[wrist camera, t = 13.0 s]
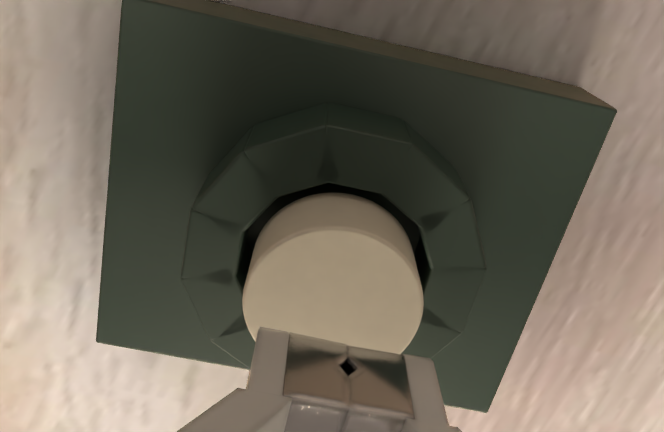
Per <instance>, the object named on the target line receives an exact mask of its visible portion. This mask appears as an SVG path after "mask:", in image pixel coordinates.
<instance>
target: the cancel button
mask: <svg viewBox="0 0 664 432" xmlns="http://www.w3.org/2000/svg"><path fill="white" fill-rule="evenodd" d="M242 305H243V314H244V319H245V322H246V324H247V327H248V330H249V332H250V333H251V335H252V337H253V339H254V340H255V342H256V338H257V333H258V330H259V327H266V328H271V329H276V330H282V331H287V332H288V333H290V332H292V333H296V334H301V335H306V336H311V337H315V338H320V339H325V340H330V341H334V342H339V343H344V344H346V345H351V346H356V347H362V348H368V349H373V350H379V351H385V352H390V353H396V354H401V353H402V352H403V351H404V350H405V348H406V347H407V346H408V345H409V344H410V342H411V341H412V339H413V337H414V336H415V334H416V332H417V330H418V327H419V325H420V322H421V318H422V314H423V306H424V300H423V290H422V286H421V281H420V277H419V273H418V269H417V265H416V261H415V257H414V253H413V249H412V245H411V243H410V240H409V237H408V235H407V234H406V232H405V230H404V228H403V227H402V226H401V224H400V223H399V222H398V220H397V219H396V218H395V217H394V216H393V215H392V214H391V213H389V212H388V211H387V210H386V209H384V208H383V207H381V206H380V205H378V204H376V203H374V202H373V201H370V200H368V199H365V198H363V197H360V196H356V195H352V194H346V193H319V194H314V195H310V196H306V197H303V198H301V199H298V200H296V201H294V202H292V203H290V204H288V205H286V206H285V207H283V208H282V209H280V210H279V211H278V212H277V213H276V214H275V215H273V216H272V217H271V218H270V220H269V221H268V222H267V223H266V224H265V226H264V227H263V229H262V230H261V232H260V234H259V236H258V238H257V240H256V243H255V247H254V250H253V254H252V258H251V262H250V266H249V270H248V274H247V277H246V281H245V285H244V289H243V298H242Z"/></svg>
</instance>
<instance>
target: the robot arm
mask: <svg viewBox="0 0 664 432" xmlns="http://www.w3.org/2000/svg"><path fill="white" fill-rule="evenodd" d="M177 432H462V431H461V430H460V429H459V428H458V427H453V426H449V423H448V419H447V415H446V411H445V407H444V403H443V399H442V395H441V391H440V386H439V382H438V378H437V374H436V370H435V366H434V362H433V361H432V360H431V359H430V358H426V357H420V356H413V355H407V354H396V353H390V352H385V351H379V350H373V349H368V348H362V347H356V346H351V345H346V344H344V343H339V342H334V341H330V340H325V339H320V338H315V337H311V336H306V335H301V334H296V333H292V332H290V333H288V332H287V331H282V330H276V329H271V328H266V327H259V330H258V333H257V338H256V343H255V348H254V352H253V357H252V362H251V367H250V371H249V376H248V381H247V386H246V389H241V388H237V389H236V390H234V391H233V392H232V393H230V394H229V395H227V396H226V397H224V398H223V399H222V400H220V401H219V402H217V403H216V404H215V405H213V406H212V407H210V408H209V409H208V410H206V411H205V412H203V413H202V414H201V415H199V416H198V417H196V418H195V419H194V420H192V421H191V422H189V423H188V424H187V425H185V426H184V427H182V428H181V429H180V430H178V431H177Z"/></svg>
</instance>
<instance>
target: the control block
mask: <svg viewBox="0 0 664 432" xmlns="http://www.w3.org/2000/svg"><path fill="white" fill-rule="evenodd" d="M616 113H617V110H616V109H615V108H614V107H612V106H610V105H609V104H607V103H605V102H604V101H602V100H601V99H599V98H597V97H596V96H594V95H592V94H591V93H589V92H587V91H586V90H584V89H583V88H581V87H577V86H573V85H568V84H564V83H560V82H555V81H551V80H547V79H543V78H538V77H534V76H530V75H526V74H521V73H517V72H513V71H509V70H504V69H500V68H496V67H491V66H487V65H483V64H479V63H474V62H470V61H466V60H462V59H457V58H453V57H449V56H445V55H440V54H436V53H432V52H427V51H423V50H419V49H415V48H410V47H406V46H402V45H398V44H393V43H389V42H385V41H381V40H376V39H372V38H368V37H363V36H359V35H355V34H351V33H346V32H342V31H338V30H334V29H329V28H325V27H321V26H316V25H312V24H308V23H304V22H299V21H295V20H291V19H287V18H282V17H278V16H274V15H270V14H265V13H261V12H257V11H252V10H248V9H244V8H240V7H235V6H231V5H227V4H223V3H218V2H214V1H210V0H122V7H121V20H120V33H119V46H118V60H117V73H116V86H115V99H114V112H113V125H112V138H111V151H110V164H109V177H108V191H107V204H106V217H105V230H104V243H103V256H102V269H101V282H100V295H99V308H98V322H97V335H96V342H98V343H103V344H108V345H114V346H120V347H125V348H131V349H136V350H142V351H147V352H153V353H158V354H164V355H169V356H175V357H180V358H186V359H191V360H197V361H202V362H208V363H213V364H219V365H224V366H230V367H235V368H241V369H246V370H250V367H251V362H252V357H253V352H254V348H255V343H256V342H255V340H254V339H253V337H252V335H251V333H250V332H249V330H248V327H247V324H246V322H245V319H244V314H243V305H242V298H243V289H244V285H245V281H246V277H247V274H248V270H249V266H250V262H251V258H252V254H253V250H254V247H255V243H256V240H257V238H258V236H259V234H260V232H261V230H262V229H263V227H264V226H265V224H266V223H267V222H268V221H269V220H270V218H271V217H272V216H273V215H275V214H276V213H277V212H278V211H279V210H280V209H282V208H283V207H285V206H286V205H288V204H290V203H292V202H294V201H296V200H298V199H301V198H303V197H306V196H310V195H314V194H319V193H346V194H352V195H356V196H360V197H363V198H365V199H368V200H370V201H373V202H374V203H376V204H378V205H380V206H381V207H383V208H384V209H386V210H387V211H388V212H389V213H391V214H392V215H393V216H394V217H395V218H396V219H397V220H398V222H399V223H400V224H401V226H402V227H403V228H404V230H405V232H406V234H407V235H408V237H409V240H410V243H411V245H412V249H413V253H414V257H415V261H416V265H417V269H418V273H419V277H420V281H421V286H422V290H423V300H424V306H423V314H422V318H421V322H420V325H419V327H418V330H417V332H416V334H415V336H414V337H413V339H412V341H411V342H410V344H409V345H408V346H407V347H406V348H405V350H404V351H403V352H402V353H401V354H407V355H413V356H420V357H426V358H430V359H431V360H432V361H433V362H434V366H435V370H436V374H437V378H438V382H439V386H440V391H441V395H442V399H443V403H444V405H445V406H451V407H456V408H462V409H467V410H473V411H478V412H484V413H487V412H488V410H489V407H490V405H491V403H492V401H493V398H494V396H495V394H496V391H497V389H498V387H499V384H500V382H501V380H502V377H503V375H504V373H505V370H506V368H507V366H508V363H509V361H510V359H511V356H512V354H513V352H514V349H515V347H516V345H517V342H518V340H519V338H520V336H521V333H522V331H523V329H524V326H525V324H526V322H527V319H528V317H529V315H530V312H531V310H532V308H533V305H534V303H535V301H536V298H537V296H538V294H539V291H540V289H541V287H542V284H543V282H544V280H545V277H546V275H547V273H548V271H549V268H550V266H551V264H552V261H553V259H554V257H555V254H556V252H557V250H558V247H559V245H560V243H561V240H562V238H563V236H564V233H565V231H566V229H567V226H568V224H569V222H570V219H571V217H572V215H573V212H574V210H575V208H576V205H577V203H578V201H579V199H580V196H581V194H582V192H583V189H584V187H585V185H586V182H587V180H588V178H589V175H590V173H591V171H592V168H593V166H594V164H595V161H596V159H597V157H598V154H599V152H600V150H601V147H602V145H603V143H604V140H605V138H606V136H607V134H608V131H609V129H610V127H611V124H612V122H613V120H614V117H615V115H616Z"/></svg>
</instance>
